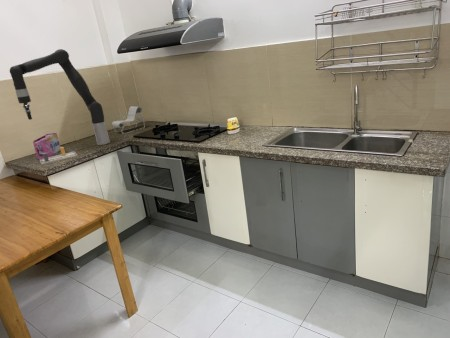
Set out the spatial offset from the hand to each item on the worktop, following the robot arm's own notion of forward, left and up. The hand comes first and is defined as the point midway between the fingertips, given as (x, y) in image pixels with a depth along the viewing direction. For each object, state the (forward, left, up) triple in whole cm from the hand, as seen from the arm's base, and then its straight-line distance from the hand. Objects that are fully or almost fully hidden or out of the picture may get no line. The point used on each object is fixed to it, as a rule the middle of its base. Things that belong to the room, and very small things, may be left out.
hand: (30, 118), depth 249 cm
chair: (-75, -28, -30) cm, 85 cm away
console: (-10, +14, -29) cm, 34 cm away
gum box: (-6, -6, -30) cm, 31 cm away
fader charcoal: (-2, +17, -28) cm, 33 cm away
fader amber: (-14, +11, -28) cm, 33 cm away
